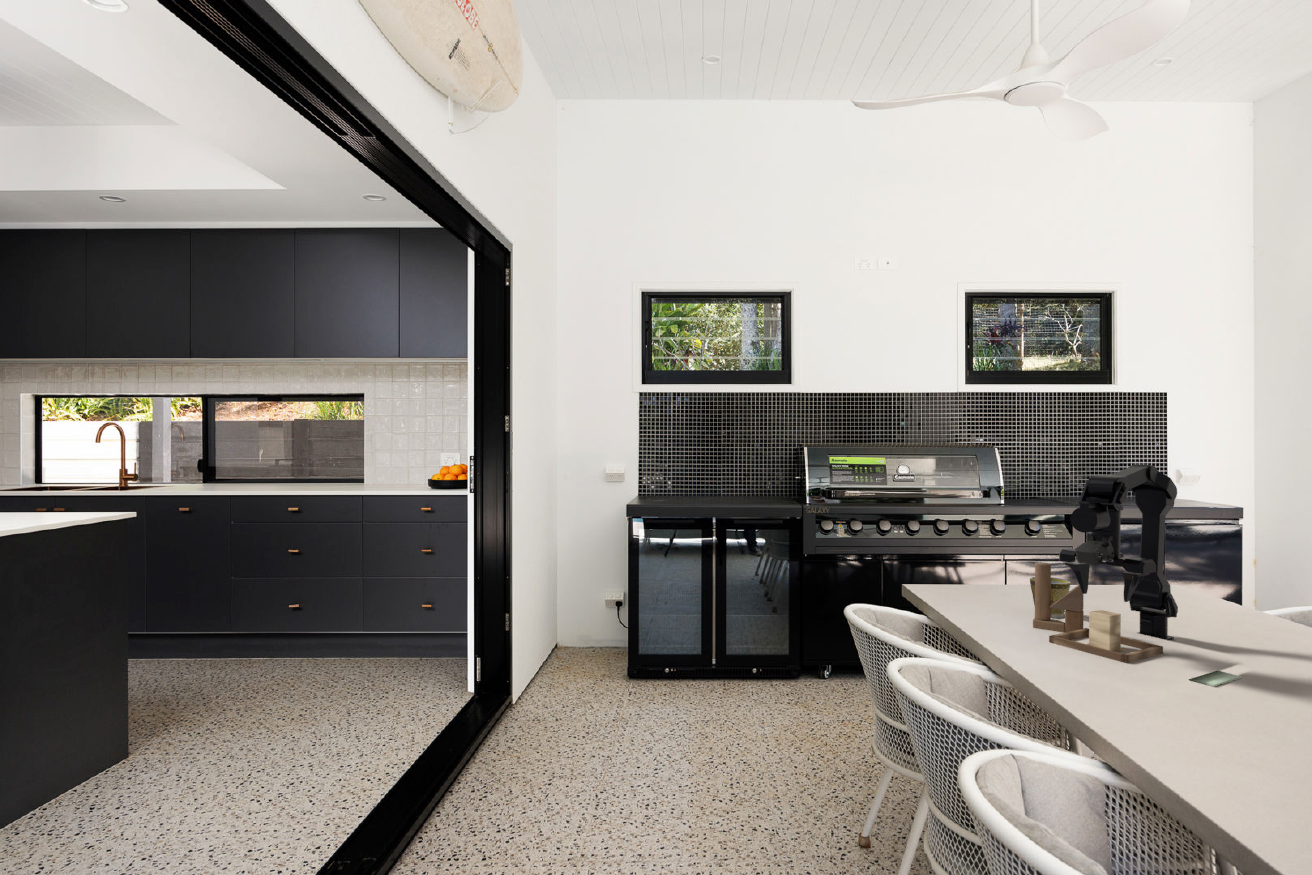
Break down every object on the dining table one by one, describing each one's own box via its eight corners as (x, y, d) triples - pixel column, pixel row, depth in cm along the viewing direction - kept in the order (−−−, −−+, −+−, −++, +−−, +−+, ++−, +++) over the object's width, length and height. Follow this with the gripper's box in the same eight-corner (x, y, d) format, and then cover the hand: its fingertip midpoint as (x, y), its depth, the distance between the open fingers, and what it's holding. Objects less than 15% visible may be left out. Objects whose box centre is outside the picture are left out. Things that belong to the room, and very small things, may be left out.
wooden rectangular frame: (1086, 640, 171) (1086, 627, 171) (1163, 659, 156) (1163, 646, 156) (1049, 648, 164) (1049, 635, 164) (1125, 669, 149) (1126, 655, 149)
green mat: (1180, 662, 154) (1180, 661, 154) (1240, 678, 144) (1240, 676, 144) (1153, 670, 148) (1153, 668, 148) (1214, 686, 139) (1214, 684, 139)
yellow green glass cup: (1078, 620, 190) (1078, 583, 190) (1041, 619, 190) (1041, 583, 190) (1051, 608, 203) (1051, 574, 203) (1017, 608, 203) (1017, 574, 203)
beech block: (1100, 643, 163) (1100, 609, 163) (1120, 648, 159) (1120, 614, 159) (1089, 646, 161) (1089, 611, 161) (1109, 651, 157) (1109, 616, 157)
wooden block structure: (1081, 641, 170) (1081, 568, 170) (1032, 633, 177) (1032, 563, 177) (1083, 638, 173) (1083, 566, 173) (1035, 630, 179) (1035, 561, 179)
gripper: (1045, 527, 164) (1044, 592, 164) (1129, 537, 148) (1128, 610, 148) (1073, 525, 170) (1072, 588, 170) (1157, 534, 153) (1156, 604, 153)
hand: (1104, 597), depth 160 cm, fingers open, 9 cm apart
